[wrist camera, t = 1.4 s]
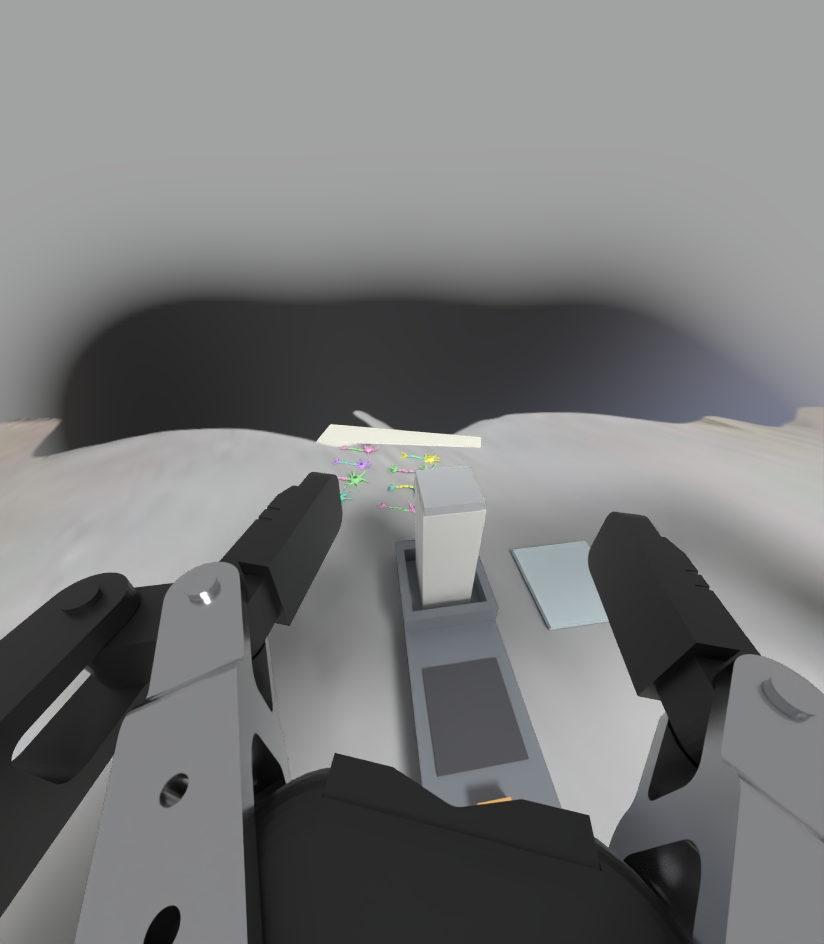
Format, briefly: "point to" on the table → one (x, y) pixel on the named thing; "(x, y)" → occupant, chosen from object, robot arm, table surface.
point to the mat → (561, 584)
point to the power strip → (468, 699)
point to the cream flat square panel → (355, 435)
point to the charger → (447, 534)
